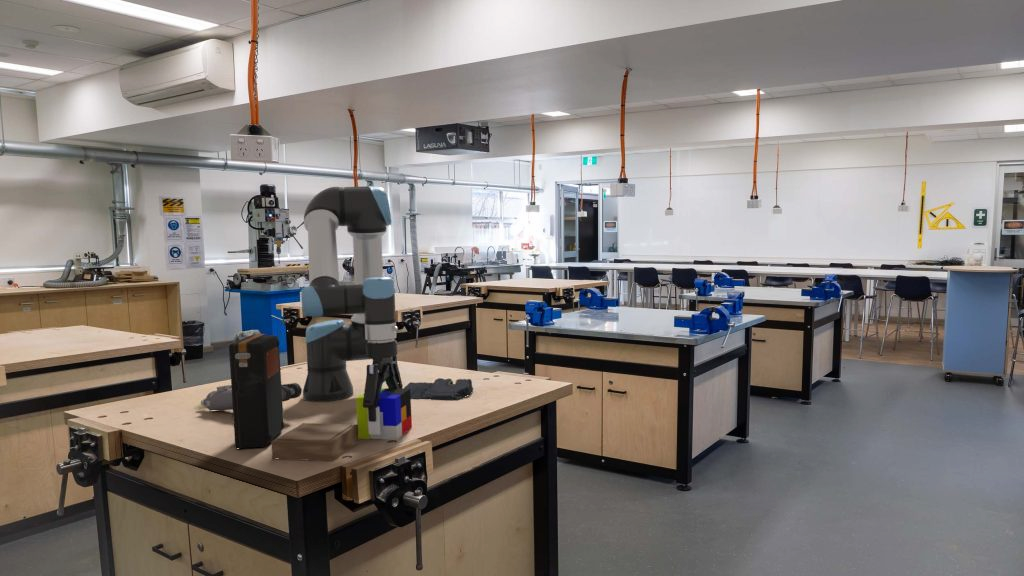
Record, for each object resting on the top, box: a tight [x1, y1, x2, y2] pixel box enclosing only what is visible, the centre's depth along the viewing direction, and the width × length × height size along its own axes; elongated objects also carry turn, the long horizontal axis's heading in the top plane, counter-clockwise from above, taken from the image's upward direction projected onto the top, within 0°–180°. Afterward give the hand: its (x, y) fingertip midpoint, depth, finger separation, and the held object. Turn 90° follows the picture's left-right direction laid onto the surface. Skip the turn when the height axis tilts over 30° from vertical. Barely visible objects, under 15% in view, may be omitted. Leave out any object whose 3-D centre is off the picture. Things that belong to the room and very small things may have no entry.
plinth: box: [270, 422, 360, 462], centre depth 145 cm, size 14×14×4 cm
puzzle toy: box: [355, 387, 413, 441], centre depth 156 cm, size 10×10×10 cm
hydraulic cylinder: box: [200, 382, 303, 411], centre depth 178 cm, size 7×37×10 cm, turn 64°
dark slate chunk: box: [403, 377, 474, 401], centre depth 196 cm, size 15×22×5 cm
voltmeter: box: [228, 333, 285, 449], centre depth 153 cm, size 16×9×25 cm, turn 5°
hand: (385, 426), depth 157 cm, fingers open, 13 cm apart
